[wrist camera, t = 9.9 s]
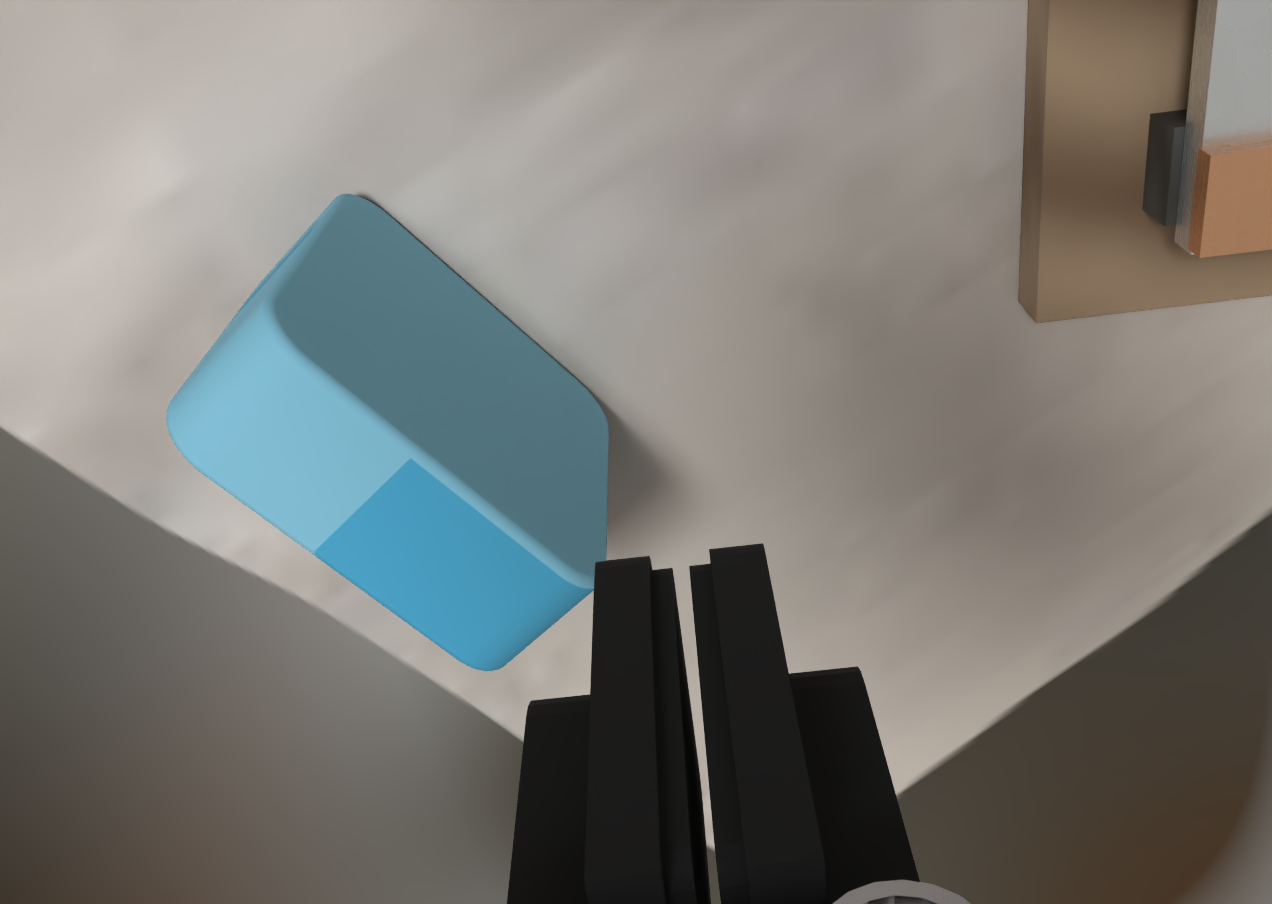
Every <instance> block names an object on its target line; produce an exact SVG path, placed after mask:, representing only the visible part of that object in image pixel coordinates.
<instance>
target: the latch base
mask: <svg viewBox="0 0 1272 904" xmlns="http://www.w3.org/2000/svg"><path fill="white" fill-rule="evenodd" d="M1197 6H1198V0H1028V25H1027V55H1026V86H1025V117H1024V148H1023V178H1022V209H1021V240H1020V270H1019V302H1020V303H1021V305H1022V306H1023V307H1024V308H1025V310H1026V311H1027V312H1028V313H1029V315H1030V316H1031V317H1032V318H1033V320H1034V321H1035V322H1036V323H1041V322H1049V321H1057V320H1066V319H1074V318H1083V317H1091V316H1100V315H1108V314H1117V313H1125V312H1134V311H1142V310H1151V309H1159V308H1168V307H1176V306H1185V305H1193V304H1202V303H1210V302H1219V301H1227V300H1236V299H1244V298H1252V297H1261V296H1269V295H1272V249H1271V250H1262V251H1254V252H1246V253H1237V254H1229V255H1221V256H1212V257H1204V258H1199V257H1198V256H1196V255H1195V254H1194V255H1190V254H1189V253H1188V252H1187V251H1185V250H1184V249H1183V248H1182V247H1180V246H1179V245H1178V244H1176V243H1175V242H1174V238H1175V228H1176V218H1177V208H1178V198H1179V188H1180V178H1181V168H1182V158H1183V147H1184V137H1185V127H1186V117H1187V107H1188V97H1189V87H1190V77H1191V67H1192V56H1193V46H1194V36H1195V26H1196V16H1197Z"/></svg>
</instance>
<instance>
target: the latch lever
mask: <svg viewBox="0 0 1272 904" xmlns="http://www.w3.org/2000/svg"><path fill="white" fill-rule="evenodd" d="M1174 242H1175V243H1176V244H1178V245H1179V246H1180V247H1182V248H1183V249H1184V250H1185V251H1187V252H1188V253H1189V254H1190V255H1194V254H1195V255H1196V256H1198V257H1199V258H1204V257H1212V256H1221V255H1229V254H1237V253H1246V252H1254V251H1262V250H1271V249H1272V0H1198V6H1197V16H1196V26H1195V36H1194V46H1193V56H1192V67H1191V77H1190V87H1189V97H1188V107H1187V117H1186V127H1185V137H1184V147H1183V158H1182V168H1181V178H1180V188H1179V198H1178V208H1177V218H1176V228H1175V238H1174Z"/></svg>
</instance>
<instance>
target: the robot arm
mask: <svg viewBox="0 0 1272 904" xmlns="http://www.w3.org/2000/svg"><path fill="white" fill-rule="evenodd" d="M709 552H710V561H711V564H704V565H695V566H690V579H691V590H692V601H693V612H694V623H695V634H696V645H697V656H698V667H699V678H700V689H701V700H702V711H703V722H704V733H705V744H706V756H707V767H708V778H709V789H710V800H711V811H712V822H713V833H714V843H715V853H716V863H717V872H718V881H719V889H720V897H721V904H970V903H969V902H968V901H966V900H965V899H964V898H962V897H961V896H959V895H957V894H954V893H952V892H950V891H947V890H945V889H942V888H940V887H938V886H936V885H933V884H927V883H921V882H920V881H919V877H918V873H917V870H916V866H915V863H914V860H913V855H912V852H911V848H910V845H909V841H908V837H907V834H906V830H905V827H904V823H903V819H902V816H901V813H900V809H899V805H898V801H897V798H896V794H895V791H894V787H893V783H892V780H891V776H890V773H889V769H888V765H887V762H886V758H885V755H884V751H883V747H882V744H881V740H880V737H879V733H878V729H877V726H876V722H875V719H874V715H873V711H872V708H871V704H870V701H869V697H868V693H867V690H866V686H865V683H864V680H863V677H862V674H861V671H860V669H859V668H858V667H849V668H840V669H830V670H821V671H811V672H802V673H792V674H789V673H788V668H787V663H786V658H785V652H784V647H783V642H782V637H781V632H780V627H779V621H778V616H777V611H776V606H775V601H774V596H773V590H772V585H771V580H770V575H769V570H768V565H767V559H766V554H765V549H764V545H763V544H754V545H745V546H735V547H726V548H717V549H709ZM507 904H711V898H710V886H709V874H708V861H707V850H706V837H705V825H704V813H703V801H702V791H701V782H700V773H699V765H698V758H697V750H696V742H695V735H694V727H693V720H692V712H691V704H690V697H689V689H688V682H687V674H686V666H685V659H684V651H683V644H682V636H681V629H680V621H679V613H678V606H677V598H676V591H675V583H674V576H673V570H672V568H668V569H659V570H652V566H651V560H650V557H649V556H645V557H636V558H627V559H617V560H608V561H599V562H596V563H595V574H594V604H593V633H592V663H591V692H590V695H582V696H572V697H563V698H553V699H544V700H534V701H531V702H530V704H529V705H528V710H527V716H526V725H525V735H524V744H523V754H522V764H521V774H520V783H519V793H518V803H517V812H516V822H515V831H514V841H513V851H512V860H511V870H510V881H509V890H508V899H507Z"/></svg>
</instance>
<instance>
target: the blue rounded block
mask: <svg viewBox="0 0 1272 904" xmlns="http://www.w3.org/2000/svg"><path fill="white" fill-rule="evenodd" d="M166 420H167V426H168V430H169V433H170V436H171V438H172V440H173V442H174V444H175V445H176V447H177V448H178V450H179V451H180V452H181V454H182V455H183V456H184V457H185V458H186V459H187V461H188V462H189V463H190V464H191V465H193V466H194V467H195V468H196V469H197V470H198V471H200V472H201V473H202V474H204V475H205V476H206V477H208V478H209V479H210V480H212V481H213V482H215V483H216V484H217V485H219V486H220V487H221V488H223V489H224V490H226V491H227V492H228V493H230V494H231V495H232V496H234V497H235V498H236V499H238V500H239V501H241V502H242V503H243V504H245V505H246V506H247V507H249V508H250V509H252V510H253V511H254V512H256V513H257V514H258V515H260V516H261V517H263V518H264V519H265V520H267V521H268V522H269V523H271V524H272V525H274V526H275V527H276V528H278V529H279V530H280V531H282V532H283V533H285V534H286V535H287V536H289V537H290V538H291V539H293V540H294V541H295V542H297V543H298V544H300V545H301V546H302V547H304V548H305V549H306V550H308V551H309V552H311V553H312V554H313V555H315V556H316V557H317V558H319V559H320V560H322V561H323V562H324V563H326V564H327V565H328V566H330V567H331V568H333V569H334V570H335V571H337V572H338V573H339V574H341V575H342V576H343V577H345V578H346V579H348V580H349V581H350V582H352V583H353V584H354V585H356V586H357V587H359V588H360V589H361V590H363V591H364V592H365V593H367V594H368V595H370V596H371V597H372V598H374V599H375V600H376V601H378V602H379V603H381V604H382V605H383V606H385V607H386V608H387V609H389V610H390V611H391V612H393V613H394V614H396V615H397V616H398V617H400V618H401V619H402V620H404V621H405V622H407V623H408V624H409V625H411V626H412V627H413V628H415V629H416V630H418V631H419V632H420V633H422V634H423V635H424V636H426V637H427V638H429V639H430V640H431V641H433V642H434V643H435V644H437V645H438V646H440V647H441V648H442V649H444V650H445V651H446V652H448V653H449V654H450V655H452V656H453V657H455V658H456V659H457V660H459V661H460V662H462V663H464V664H466V665H467V666H470V667H472V668H474V669H478V670H483V671H493V670H497V669H500V668H502V667H503V666H505V665H506V664H507V663H508V662H509V661H511V660H512V659H513V658H514V657H515V656H516V655H518V654H519V653H520V652H521V651H522V650H524V649H525V648H526V647H527V646H528V645H529V644H531V643H532V642H533V641H534V640H535V639H537V638H538V637H539V636H540V635H541V634H542V633H544V632H545V631H546V630H547V629H548V628H550V627H551V626H552V625H553V624H554V623H555V622H557V621H558V620H559V619H560V618H561V617H563V616H564V615H565V614H566V613H567V612H568V611H570V610H571V609H572V608H573V607H574V606H575V605H577V604H578V603H579V602H580V601H581V600H583V599H584V598H585V597H586V596H587V595H588V594H590V593H591V592H592V591H593V590H594V574H595V563H596V562H599V561H606V546H607V495H608V445H609V426H608V422H607V419H606V416H605V414H604V412H603V410H602V409H601V407H600V405H599V404H598V402H597V401H596V400H595V398H594V397H593V396H592V395H591V394H590V392H589V391H588V390H587V389H586V388H585V387H584V386H583V385H582V384H581V383H580V382H579V381H578V380H577V379H575V378H574V377H573V376H572V375H571V374H570V373H569V372H567V371H566V370H565V369H564V368H563V367H562V366H561V365H559V364H558V363H557V362H556V361H555V360H554V359H553V358H551V357H550V356H549V355H548V354H547V353H546V352H545V351H543V350H542V349H541V348H540V347H539V346H538V345H537V344H535V343H534V342H533V341H532V340H531V339H530V338H529V337H527V336H526V335H525V334H524V333H523V332H522V331H521V330H519V329H518V328H517V327H516V326H515V325H514V324H513V323H511V322H510V321H509V320H508V319H507V318H506V317H505V316H503V315H502V314H501V313H500V312H499V311H498V310H497V309H495V308H494V307H493V306H492V305H491V304H490V303H489V302H487V301H486V300H485V299H484V298H483V297H482V296H481V295H479V294H478V293H477V292H476V291H475V290H474V289H473V288H471V287H470V286H469V285H468V284H467V283H466V282H465V281H463V280H462V279H461V278H460V277H459V276H458V275H457V274H455V273H454V272H453V271H452V270H451V269H450V268H449V267H447V266H446V265H445V264H444V263H443V262H442V261H441V260H440V259H438V258H437V257H436V256H435V255H434V254H433V253H432V252H430V251H429V250H428V249H427V248H426V247H425V246H424V245H422V244H421V243H420V242H419V241H418V240H417V239H416V238H414V237H413V236H412V235H411V234H410V233H409V232H408V231H406V230H405V229H404V228H403V227H402V226H401V225H400V224H398V223H397V222H396V221H395V220H394V219H393V218H392V217H390V216H389V215H388V214H387V213H386V212H384V211H383V210H382V209H380V208H379V207H378V206H376V205H375V204H373V203H371V202H370V201H368V200H366V199H364V198H362V197H359V196H356V195H352V194H343V195H340V196H338V197H336V198H335V199H334V200H333V202H332V203H331V204H330V205H329V206H328V207H327V208H326V209H325V211H324V212H323V213H322V214H321V215H320V216H319V217H318V218H317V220H316V221H315V222H314V223H313V224H312V225H311V226H310V227H309V228H308V230H307V231H306V232H305V233H304V234H303V235H302V236H301V237H300V239H299V240H298V241H297V242H296V243H295V244H294V245H293V246H292V248H291V249H290V250H289V251H288V252H287V253H286V254H285V255H284V257H283V258H282V259H281V260H280V261H279V262H278V263H277V264H276V266H275V267H274V268H273V269H272V270H271V271H270V272H269V273H268V275H267V276H266V277H265V278H264V279H263V280H262V281H261V282H260V284H259V285H258V286H257V288H256V289H255V290H254V292H253V293H252V294H251V295H250V297H249V298H248V299H247V301H246V302H245V303H244V305H243V306H242V307H241V309H240V310H239V311H238V313H237V314H236V315H235V317H234V318H233V319H232V321H231V322H230V323H229V325H228V326H227V327H226V329H225V330H224V331H223V333H222V334H221V335H220V337H219V338H218V339H217V341H216V342H215V343H214V345H213V346H212V347H211V348H210V350H209V351H208V352H207V354H206V355H205V356H204V358H203V359H202V360H201V362H200V363H199V364H198V366H197V367H196V368H195V370H194V371H193V372H192V374H191V375H190V376H189V378H188V379H187V380H186V382H185V383H184V384H183V386H182V387H181V388H180V390H179V391H178V392H177V394H176V395H175V396H174V398H173V399H172V400H171V402H170V404H169V406H168V409H167V415H166Z"/></svg>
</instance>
